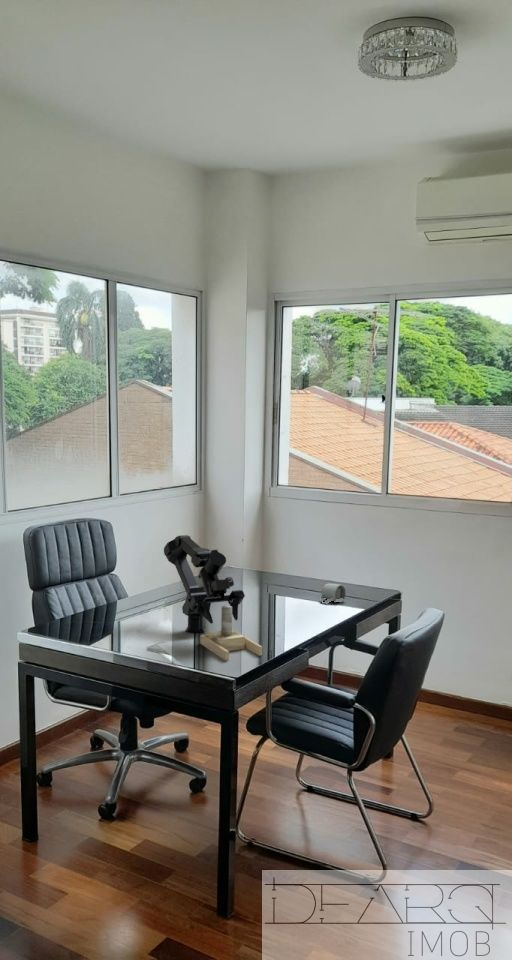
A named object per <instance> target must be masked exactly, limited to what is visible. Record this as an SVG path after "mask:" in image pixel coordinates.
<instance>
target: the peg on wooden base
mask: <svg viewBox="0 0 512 960" xmlns="http://www.w3.org/2000/svg"><path fill="white" fill-rule="evenodd" d="M220 619H221V624H220V625H221V627H220V631H212V632H208V638H209V639H210V640H212V641H214V642H215V643H217V644H218V645H220V646H221V647H223V648H225V649H226V650H228V651H229V652H230V651H236V650H237V651H238V650H243V649H245V647H244V644H245V637H246V636H245V635H243V634H242V635H243V636H242V635H241V633H240V632H238V631H236V630H233V614H232V606H230V605H222V606H221V618H220ZM235 631H236V632H235ZM237 632H238V633H237ZM239 633H240V634H239ZM244 636H245V637H244Z"/></svg>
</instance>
